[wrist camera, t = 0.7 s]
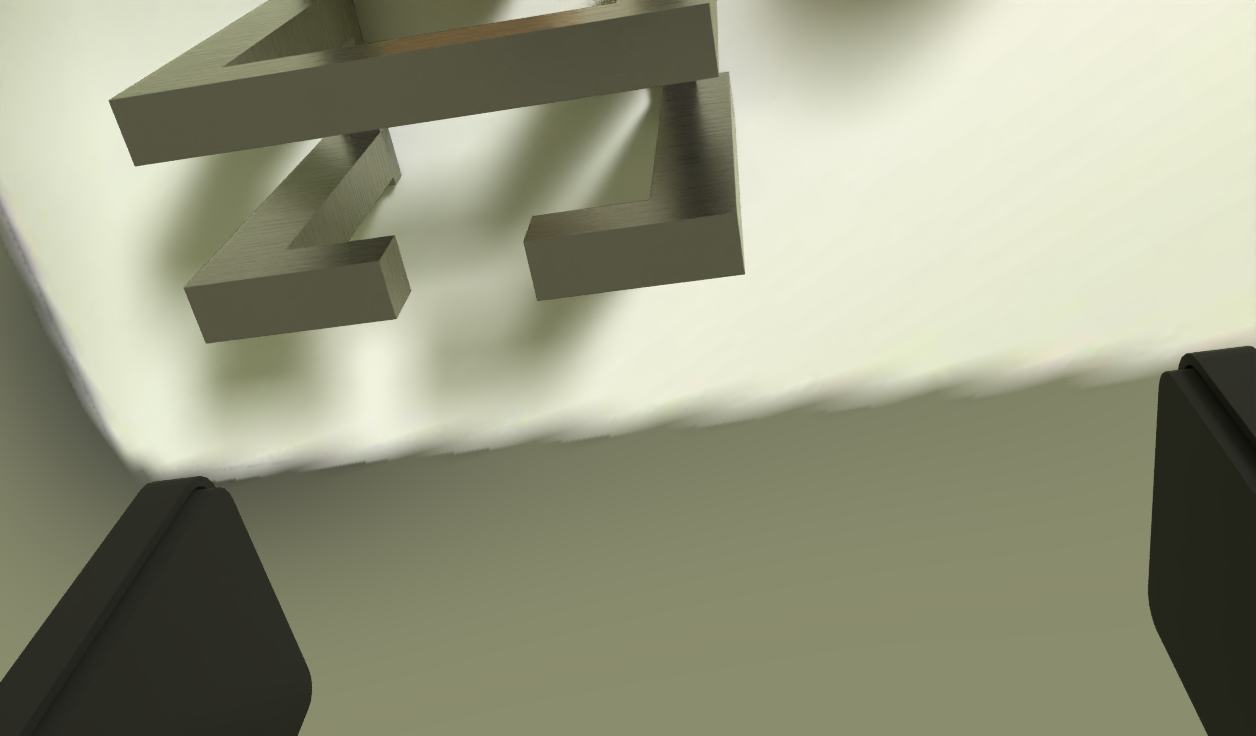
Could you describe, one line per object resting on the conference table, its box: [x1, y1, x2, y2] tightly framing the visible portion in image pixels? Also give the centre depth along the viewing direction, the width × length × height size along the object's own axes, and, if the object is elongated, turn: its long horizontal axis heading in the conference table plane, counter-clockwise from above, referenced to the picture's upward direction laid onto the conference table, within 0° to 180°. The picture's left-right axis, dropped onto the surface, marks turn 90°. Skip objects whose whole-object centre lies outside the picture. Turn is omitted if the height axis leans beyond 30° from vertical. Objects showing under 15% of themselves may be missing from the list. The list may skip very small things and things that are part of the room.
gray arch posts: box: [109, 0, 745, 343], centre depth 29 cm, size 11×13×12 cm
